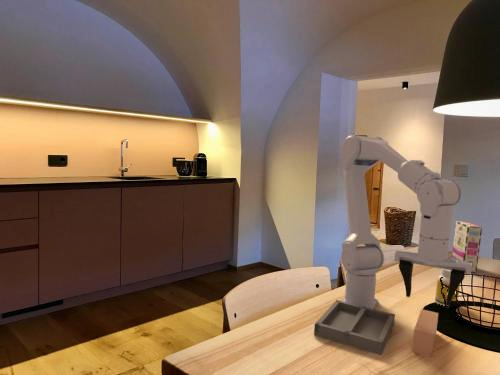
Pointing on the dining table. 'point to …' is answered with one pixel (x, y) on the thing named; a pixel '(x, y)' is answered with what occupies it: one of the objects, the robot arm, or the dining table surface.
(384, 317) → the grey divided tray
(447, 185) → the robot arm
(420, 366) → the dining table surface
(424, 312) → the tan rectangular block
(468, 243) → the candy bar box
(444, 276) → the supplement bottle
